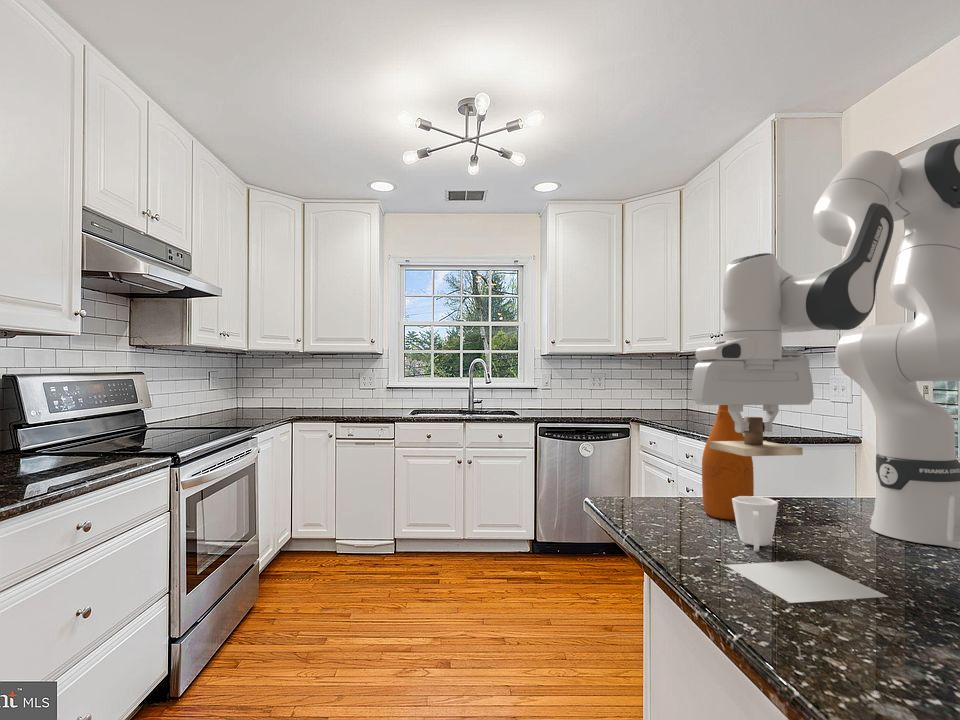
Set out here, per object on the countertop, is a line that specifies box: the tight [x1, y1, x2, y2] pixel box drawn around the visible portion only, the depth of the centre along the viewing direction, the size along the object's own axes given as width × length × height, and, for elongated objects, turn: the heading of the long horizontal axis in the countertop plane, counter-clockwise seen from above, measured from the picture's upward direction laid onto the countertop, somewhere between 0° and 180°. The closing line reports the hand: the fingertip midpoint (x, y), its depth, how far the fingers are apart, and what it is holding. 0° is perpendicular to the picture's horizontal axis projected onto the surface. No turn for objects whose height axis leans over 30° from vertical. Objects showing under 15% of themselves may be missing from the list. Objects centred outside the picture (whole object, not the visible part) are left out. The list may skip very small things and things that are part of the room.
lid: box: [709, 416, 803, 457], centre depth 91 cm, size 10×10×6 cm
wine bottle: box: [701, 405, 755, 521], centre depth 114 cm, size 10×10×30 cm
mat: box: [724, 559, 889, 604], centre depth 76 cm, size 14×14×1 cm
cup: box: [732, 496, 779, 553], centre depth 90 cm, size 7×10×8 cm
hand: (753, 432), depth 91 cm, fingers closed on lid, 3 cm apart
